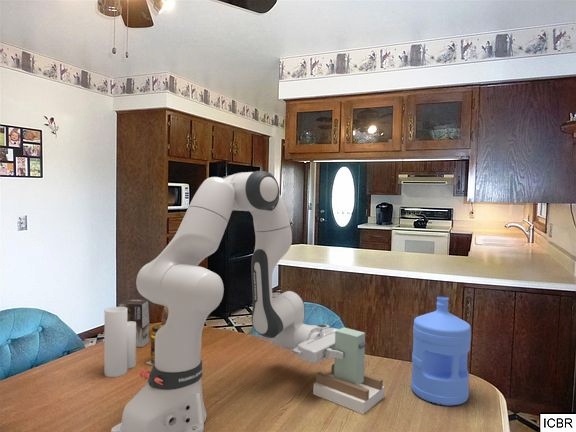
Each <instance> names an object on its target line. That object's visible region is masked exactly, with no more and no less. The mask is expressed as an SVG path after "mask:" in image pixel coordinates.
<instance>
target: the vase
mask: <svg viewBox="0 0 576 432" xmlns="http://www.w3.org/2000/svg"><path fill="white" fill-rule="evenodd" d="M103 331H104V333H103V334H104V338H103V339H104V349H103V350H104V354H103V355H104V359H103V360H104V361H103V362H104V368H103V369H104V374H103V375H104V376H105V377H107V378H118V377H122V376H124V375H125V374H127V373H128V370H129V369H132V368H134V367H136V364H137V347H136V322H133V321H129V322H127V308H126V307H119V306H113V307H108V308H105V309H104V330H103Z"/></svg>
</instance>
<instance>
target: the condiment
mask: <svg viewBox="0 0 576 432" xmlns="http://www.w3.org/2000/svg"><path fill="white" fill-rule="evenodd" d="M162 326H163V324H162V323H161V324H156V325H154V326H152V328H151V329H152V330H151V331H152V332H151V334H150V360H148V361H147V362H146V364H147V365H151V366H153V365H154V363H155V335H156V332H157V331H158V330H159V329H160V328H161V327H162Z"/></svg>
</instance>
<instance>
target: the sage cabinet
mask: <svg viewBox="0 0 576 432" xmlns="http://www.w3.org/2000/svg"><path fill="white" fill-rule="evenodd" d="M338 329H339V330H336V331H335V350H337V351H339V350H341V351H344V352H345V357H344V358H343V359H339V358H334V363H333V364H334V378H337V379H340V380H343V381H346V382H349V383H351V384H354V385H357V386H358V385H359V384H361V383H362V382H364V374H365V352H366V351H365V350H366V345H367V344H366V332H364V331H360V330H356V329H352V328H349V327H345V326H344V327H341V328H338Z"/></svg>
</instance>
